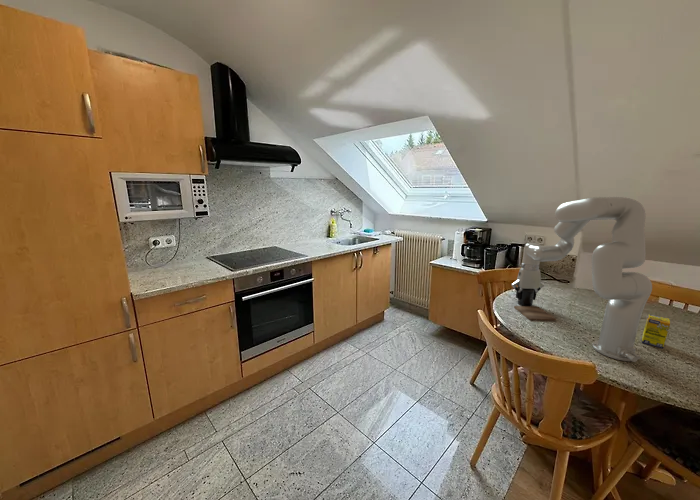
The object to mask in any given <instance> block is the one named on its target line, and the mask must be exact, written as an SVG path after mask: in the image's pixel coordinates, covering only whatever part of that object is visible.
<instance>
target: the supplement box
mask: <svg viewBox="0 0 700 500" xmlns="http://www.w3.org/2000/svg"><path fill="white" fill-rule="evenodd" d="M670 326H671V321H670V318H665V317H662V316H657V315H653V314H649V313H648V314H647V318H646V321H645V325H644V329H643V333H642V335H641V344H644V345H649V346H653V347H656V348H658V349H662V350H663V349H664V347H665V343H666V340H667V337H668V334H669V330H670V328H671V327H670Z"/></svg>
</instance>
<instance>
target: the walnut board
mask: <svg viewBox="0 0 700 500" xmlns="http://www.w3.org/2000/svg"><path fill="white" fill-rule="evenodd" d="M513 308H514V309H515V310H516V311H518V312H519V313H520V314H521V315H523V316H524V318H526V319H527V320H529V321H542V322H543V321H544V322H547V321H548V322H549V321H551V322H556V321H557V318H556V317H554V316H553V315H551V314H550V313H548V312H547V311H545V310H544V309H543V308H541V307H540V306H534V305H532V306H522V305H514V307H513Z"/></svg>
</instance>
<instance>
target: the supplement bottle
mask: <svg viewBox="0 0 700 500" xmlns="http://www.w3.org/2000/svg"><path fill="white" fill-rule="evenodd" d="M533 297H534V289H522V291H521V299H520V300H519V299H517V304H518V305H519V306H533V304H534V300H533Z"/></svg>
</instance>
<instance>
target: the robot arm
mask: <svg viewBox="0 0 700 500" xmlns="http://www.w3.org/2000/svg"><path fill="white" fill-rule="evenodd" d="M554 212H555V213H554V216H555V219H556V220H557V221H558V223H557V224H555V226H553V227H554V228H553V232H554V233H555V234H556V236H557V237H559V238H560V239H559V241H558V242H557V243H556V244H555V245H541V244H540V243H537V242H536V243H535V242H527V243H525V244H524V247H523V248H524V249H523V257H522V262H521V264H519V267H520V268H519V271H518V274H517V278H516V280H515V281H514V282H513V283H511V286H512V288H513V289H514V290H515V291H516V293H515V298H516V299H517V300H518V299H519V300H520V299H521V291H522V289H534V297H533V301H535V300H536V298H537V294H538V293H539V291H541V290H542V289H543V287H544V286H545V285H544V284H543V283H542V281H541V279H542V277H541V276H542V275H541V269H540V263H541V262H557V261H560V260H562V259H564V258H565V257H566V256H568V254H569V253H570V252H571V251H572V250H573V248H574V245H575V237H576V236H577V235H578V234H579V233H580V232H581V231H582V229H584V228H585V227H586V226H587V225H588V224H589V222H590V221H603V220H604V221H605V220H615V221H616V222H615V223H614V224H613V226H612V230H611V241H610V242H604V243H601V244H599V245H597V246H596V247H595V248H594V250H593V252H592V255H591V277H592V278H591V280H592V281H591V282H592V289H593V290H594V293H595V294H596V295H597V296H598V297H599V298H601V299H604V300H608V301H607V303H606V306H605V310H604V315H603V319H602V323H601V328H600V332H599V333H600V334H599V337H598V340H594V341H592V343H591V346H592V348H593V350H595V351H596V352H598V353H599V354H601V355H603V356H605V357H609V358H611V359H615V360H618V361H623V362H635V363H636V362H637V361H638V360H641V358H642V356H641V355H639V354H638V353H636V351H637V350H636V349H637V348H636V347H635V346H634V345H635V342H636V338H637V334H638V330H639V325H640V322H641V319H642V316H643V315H642V314H643V311H644V309H645V306H646V304H647V301H648V300H649V298H650V296H651V294H652V291H653V283H652V281H651V280H650V278H649V277H648V276H646V275H645V274H643V273H640V272H636V271H623V269H634V268H638V267H639V268H640V267H641V266H643V265H644V263H645V262H646V255H647V254H646V249H647V248H646V233H645V231H646V230H645V227H646V210H645V207H644V206H643V204H641V202H639V201H638V200H636V199H633V198H630V197H624V196H608V197H607V196H604V197H603V196H599V197H597V196H595V197H588V198H587V197H586V198H582V199H576V200H571V201H566V202H563V203H561V204H560V205H559V206H558V207H557V208H556V209H555V211H554Z"/></svg>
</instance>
